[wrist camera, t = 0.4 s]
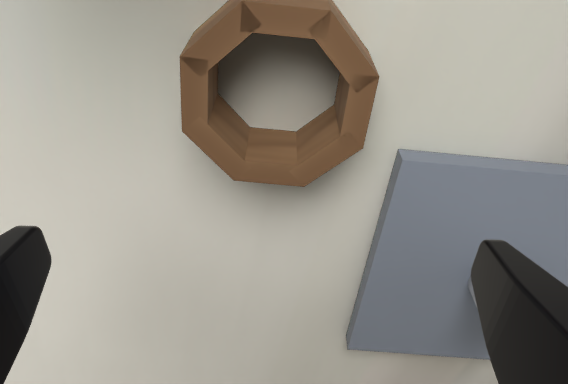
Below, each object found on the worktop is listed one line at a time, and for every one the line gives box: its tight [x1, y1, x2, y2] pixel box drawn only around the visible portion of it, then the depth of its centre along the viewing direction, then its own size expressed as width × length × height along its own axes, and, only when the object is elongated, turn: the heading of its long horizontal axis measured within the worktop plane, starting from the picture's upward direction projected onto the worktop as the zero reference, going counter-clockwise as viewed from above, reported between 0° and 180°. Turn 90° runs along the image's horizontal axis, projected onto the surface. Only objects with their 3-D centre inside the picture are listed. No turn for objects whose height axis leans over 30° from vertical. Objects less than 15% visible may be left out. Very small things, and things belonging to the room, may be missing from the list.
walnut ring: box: [180, 0, 379, 187], centre depth 19 cm, size 7×7×3 cm
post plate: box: [346, 149, 568, 360], centre depth 24 cm, size 14×14×5 cm
